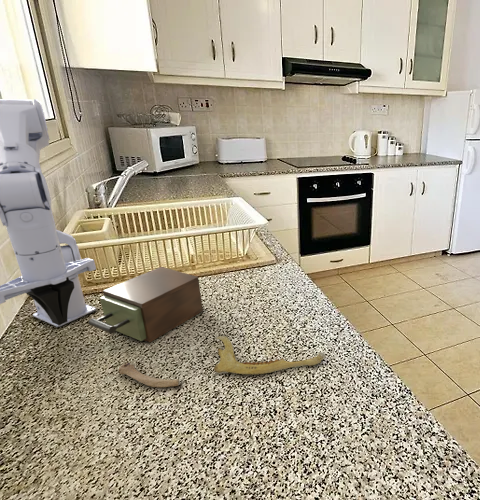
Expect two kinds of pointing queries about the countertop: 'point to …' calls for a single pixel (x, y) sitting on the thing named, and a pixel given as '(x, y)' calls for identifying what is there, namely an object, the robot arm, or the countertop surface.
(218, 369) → the jawbone
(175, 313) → the cabinet
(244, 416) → the countertop surface
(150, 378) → the bone
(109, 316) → the drawer
